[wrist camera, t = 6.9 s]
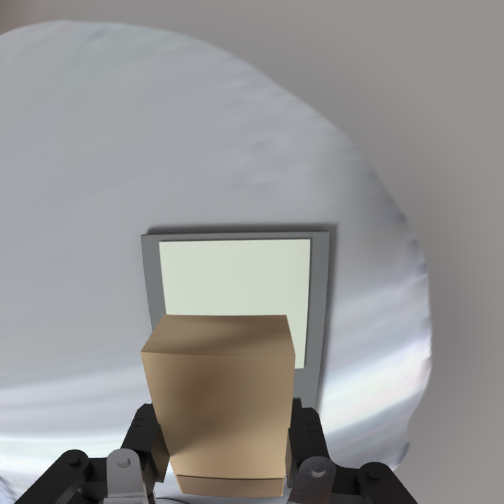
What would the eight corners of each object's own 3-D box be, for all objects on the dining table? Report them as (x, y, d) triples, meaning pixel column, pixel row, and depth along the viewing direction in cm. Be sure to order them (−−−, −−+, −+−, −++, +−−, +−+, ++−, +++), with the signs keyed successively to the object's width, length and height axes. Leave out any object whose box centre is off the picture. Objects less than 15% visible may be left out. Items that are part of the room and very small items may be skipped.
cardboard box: (286, 314, 12) (295, 355, 9) (278, 454, 14) (282, 497, 11) (163, 314, 12) (139, 353, 9) (189, 452, 14) (181, 494, 11)
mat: (307, 450, 28) (307, 454, 27) (180, 450, 28) (179, 454, 27) (328, 231, 22) (330, 232, 22) (143, 234, 22) (140, 236, 22)
